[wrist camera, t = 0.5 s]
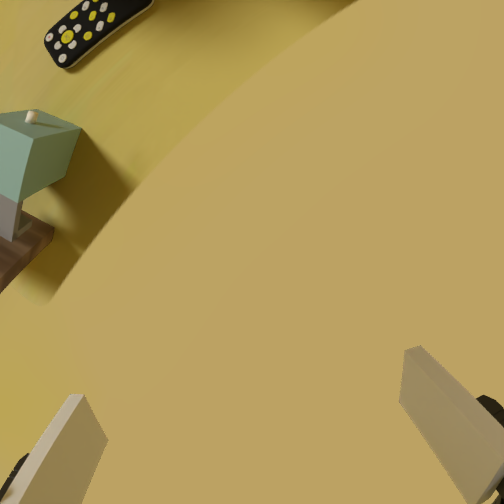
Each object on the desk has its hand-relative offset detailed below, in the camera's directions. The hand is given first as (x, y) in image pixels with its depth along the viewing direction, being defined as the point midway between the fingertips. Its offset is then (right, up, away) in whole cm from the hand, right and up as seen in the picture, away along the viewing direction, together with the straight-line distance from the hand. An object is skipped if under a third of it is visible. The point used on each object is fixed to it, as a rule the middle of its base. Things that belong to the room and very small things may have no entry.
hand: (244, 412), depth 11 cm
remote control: (-16, +31, +12) cm, 37 cm away
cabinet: (-23, +17, +18) cm, 34 cm away
